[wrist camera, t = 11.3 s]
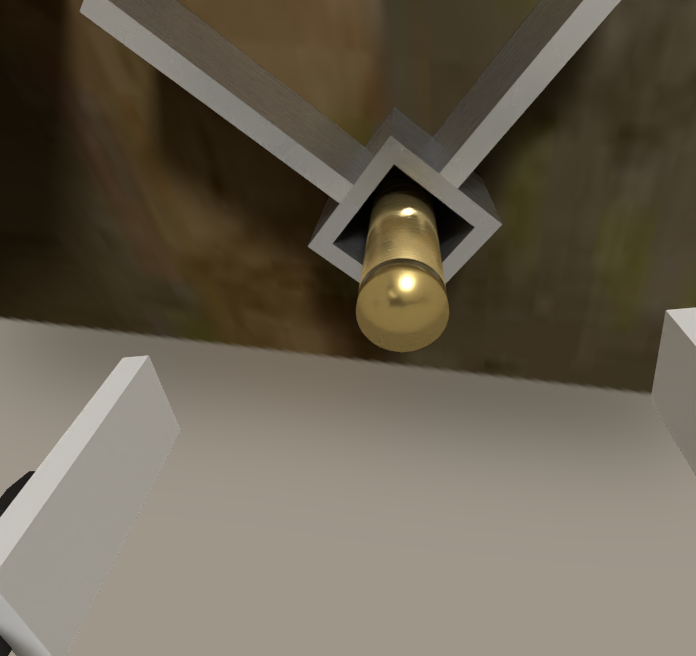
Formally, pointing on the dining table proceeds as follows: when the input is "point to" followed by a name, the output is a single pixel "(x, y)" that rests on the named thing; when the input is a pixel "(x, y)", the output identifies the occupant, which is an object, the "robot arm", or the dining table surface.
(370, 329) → the hinge pin
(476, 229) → the hinge leaves
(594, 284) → the dining table surface
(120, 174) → the dining table surface
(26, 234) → the dining table surface
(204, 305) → the dining table surface
